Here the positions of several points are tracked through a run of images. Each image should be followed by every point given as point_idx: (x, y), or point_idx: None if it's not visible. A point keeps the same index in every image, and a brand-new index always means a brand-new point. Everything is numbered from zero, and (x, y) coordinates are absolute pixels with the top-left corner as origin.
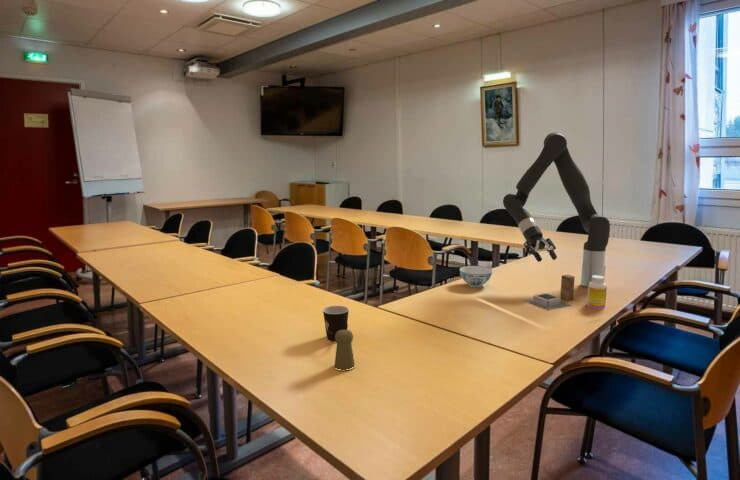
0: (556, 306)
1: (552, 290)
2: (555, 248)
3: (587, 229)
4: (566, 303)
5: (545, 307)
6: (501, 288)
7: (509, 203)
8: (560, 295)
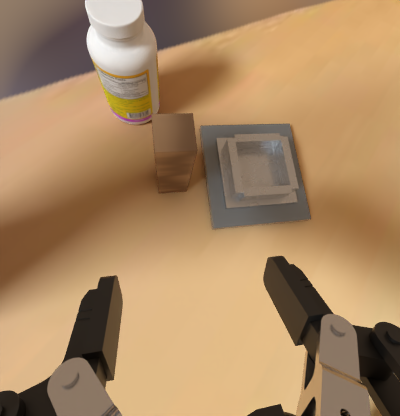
0: None
1: None
2: (3, 393)
3: None
4: (203, 145)
5: None
6: (294, 403)
7: None
8: (187, 185)
